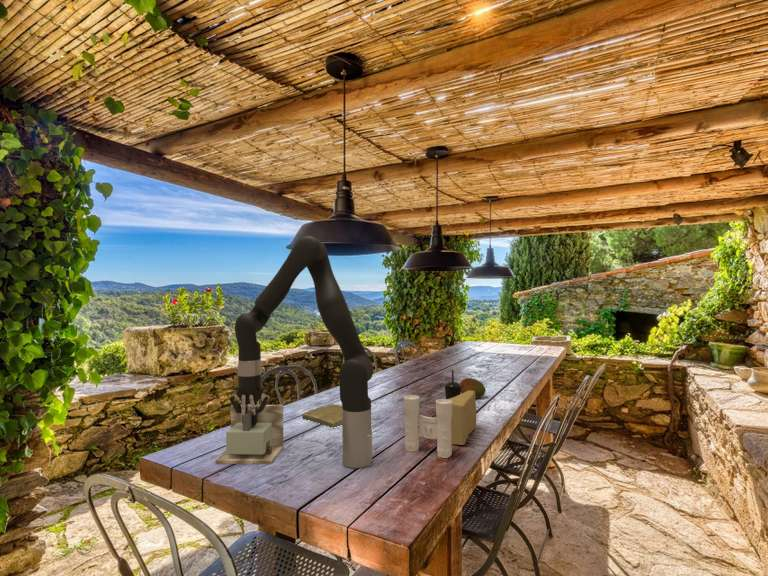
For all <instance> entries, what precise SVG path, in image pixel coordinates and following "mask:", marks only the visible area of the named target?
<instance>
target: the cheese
mask: <svg viewBox="0 0 768 576" xmlns="http://www.w3.org/2000/svg"><path fill="white" fill-rule="evenodd" d="M448 400H451V401H452V418H451V443H453V444H459V445H464V446H465V445H466V442H467V440H468V438H469V436H470V435H471V434H472V433H473V432H474V431H475V430H474V428H475V427H476V428H477V401H476V398H475V391H471V390H469V391H466V392H464V393H461V394H460V395H458V396H456V397H453V398H450V399H448ZM476 428H475V429H476ZM473 430H474V431H473ZM472 431H473V432H472ZM471 432H472V433H471ZM470 433H471V434H470ZM469 434H470V435H469ZM468 435H469V436H468ZM467 437H468V438H467ZM466 439H467V440H466Z"/></svg>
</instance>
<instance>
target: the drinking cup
mask: <svg viewBox="0 0 768 576" xmlns="http://www.w3.org/2000/svg"><path fill="white" fill-rule="evenodd" d="M454 371H455V369H452V370H451V381H448V382H445V383H444V384H443V386H444V392H445V399H450V398H453V397H456V396H458V395H460V394H462V393H461V386H462V384H460V383H459V382H458V381H455V380H454V379H455V377H454V375H455V374H454V373H455V372H454Z"/></svg>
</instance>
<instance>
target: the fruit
mask: <svg viewBox="0 0 768 576" xmlns="http://www.w3.org/2000/svg"><path fill="white" fill-rule="evenodd" d="M460 384H462V386H461V394H462V393H464V392H466V391H469V390H471V391H475V399H478V398H477V397H479V398H481V397H483V396H484V395H485V393H487V392H486V390H487V389H486V386H485V385H484V383H482V382H481V381H480V380H478V379H474V378H472V377H467V378H464V379H462V380H461V381H460Z"/></svg>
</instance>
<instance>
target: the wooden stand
mask: <svg viewBox="0 0 768 576" xmlns="http://www.w3.org/2000/svg"><path fill="white" fill-rule="evenodd" d="M260 405H261V404H258V409H259V407H260ZM249 410H251V404H249V406H248V411H249ZM237 423H242V414H240V413H236V411H235V409H234V407H233V405H232V404H231V405H230V429H231V428H232V427H233V426H234V425H236V424H237ZM257 423H272V445H271V446H266V452H265V453H264V454H226V450H225V451H224V452H223V453H222V454H221V455H220V456H219V457H218V458H216V459H215V461H214V463H216V464H217V465H218V464H219V465H220V464H222V465H233V464H234V465H272V464H273V463H274V461H275V460H276V459H277V457H278V456H279V454H280V453H281V452H282V451H283V449H284V404H266V406H265V408H264V410H263V411H262V412H261V413H258V422H257ZM253 463H254V464H253Z"/></svg>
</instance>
